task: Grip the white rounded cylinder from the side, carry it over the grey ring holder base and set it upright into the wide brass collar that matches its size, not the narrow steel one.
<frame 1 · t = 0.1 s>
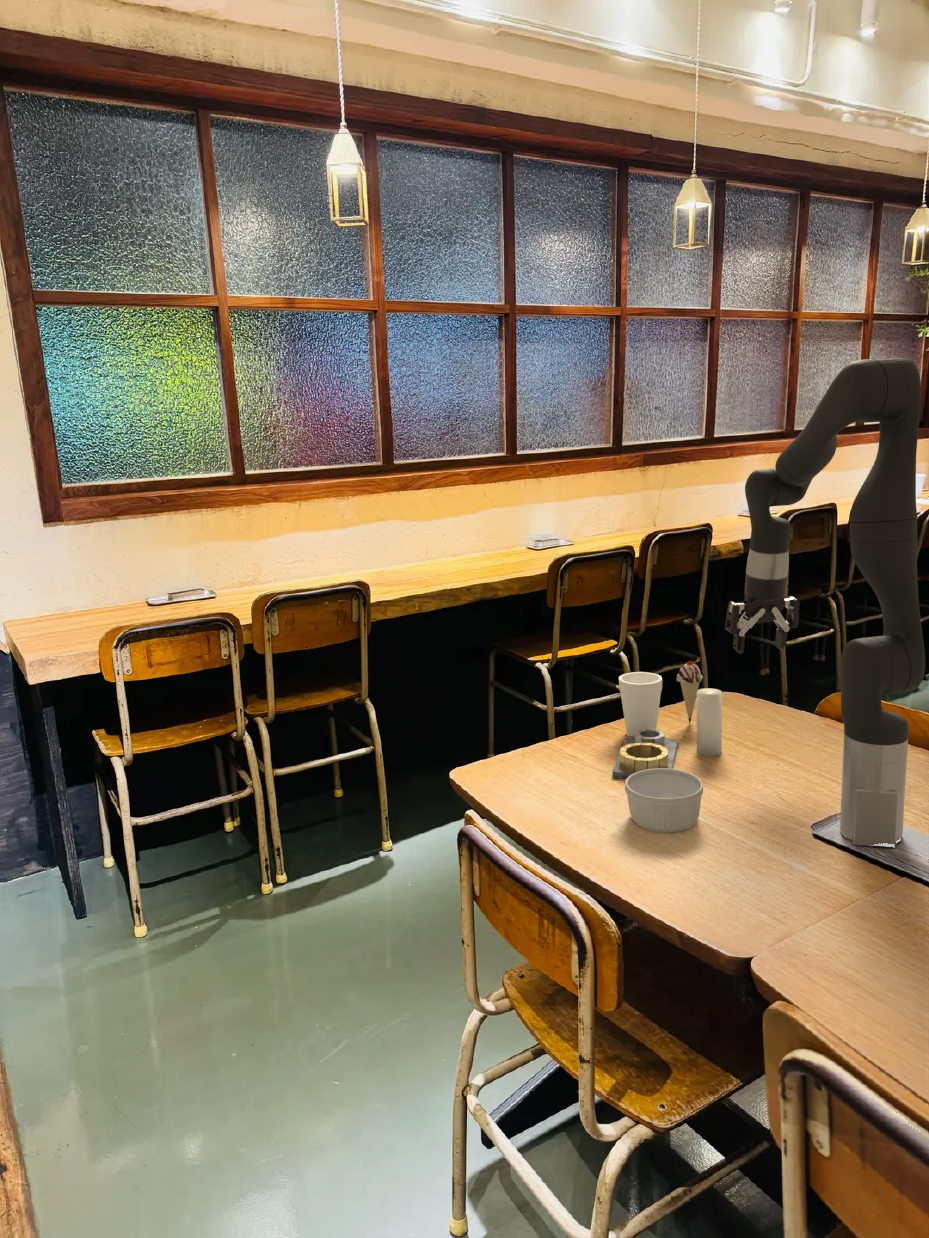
hand: (759, 649, 168), 22 cm above the table, tool pointing down, fingers open, 8 cm apart
white rounded cylinder: (709, 751, 176), on the table
grey ring holder base: (646, 760, 174), on the table
ice cream cone: (689, 724, 192), on the table
ramekin: (663, 820, 148), on the table
foam cup: (641, 734, 188), on the table
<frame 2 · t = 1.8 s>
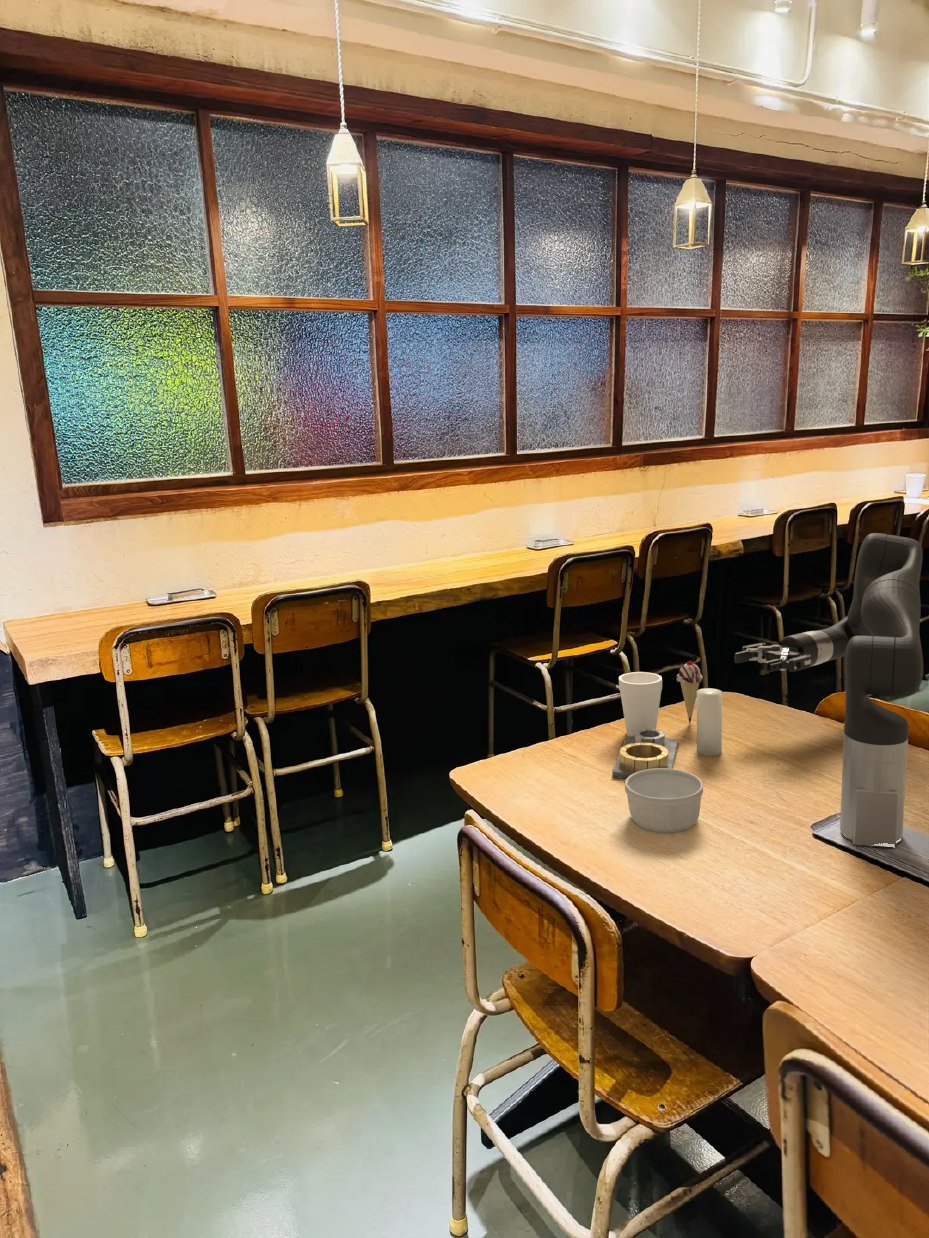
hand: (750, 662, 177), 17 cm above the table, tool horizontal, fingers open, 8 cm apart
nothing on the table moved.
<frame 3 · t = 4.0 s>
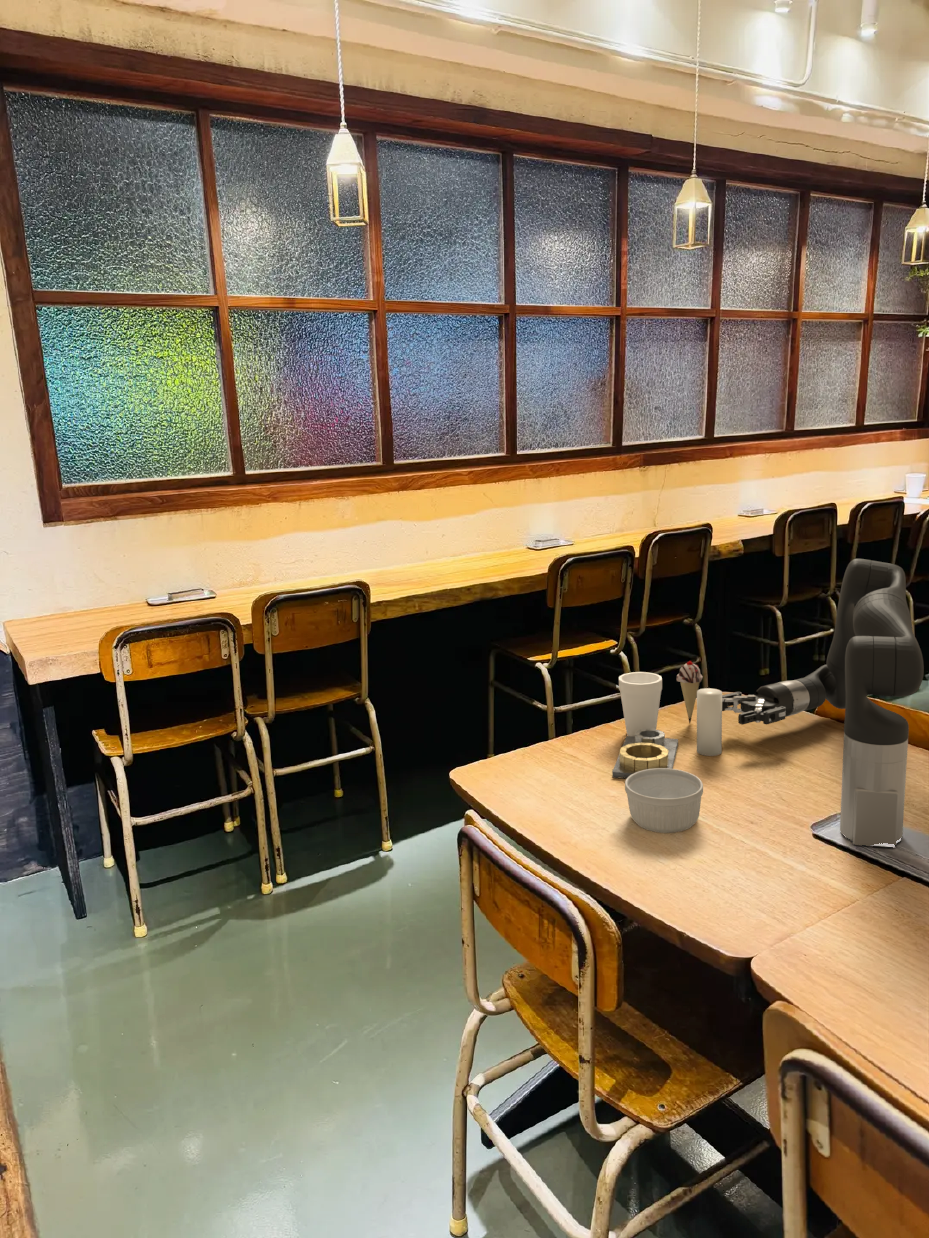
hand: (724, 713, 176), 7 cm above the table, tool horizontal, fingers open, 8 cm apart
nothing on the table moved.
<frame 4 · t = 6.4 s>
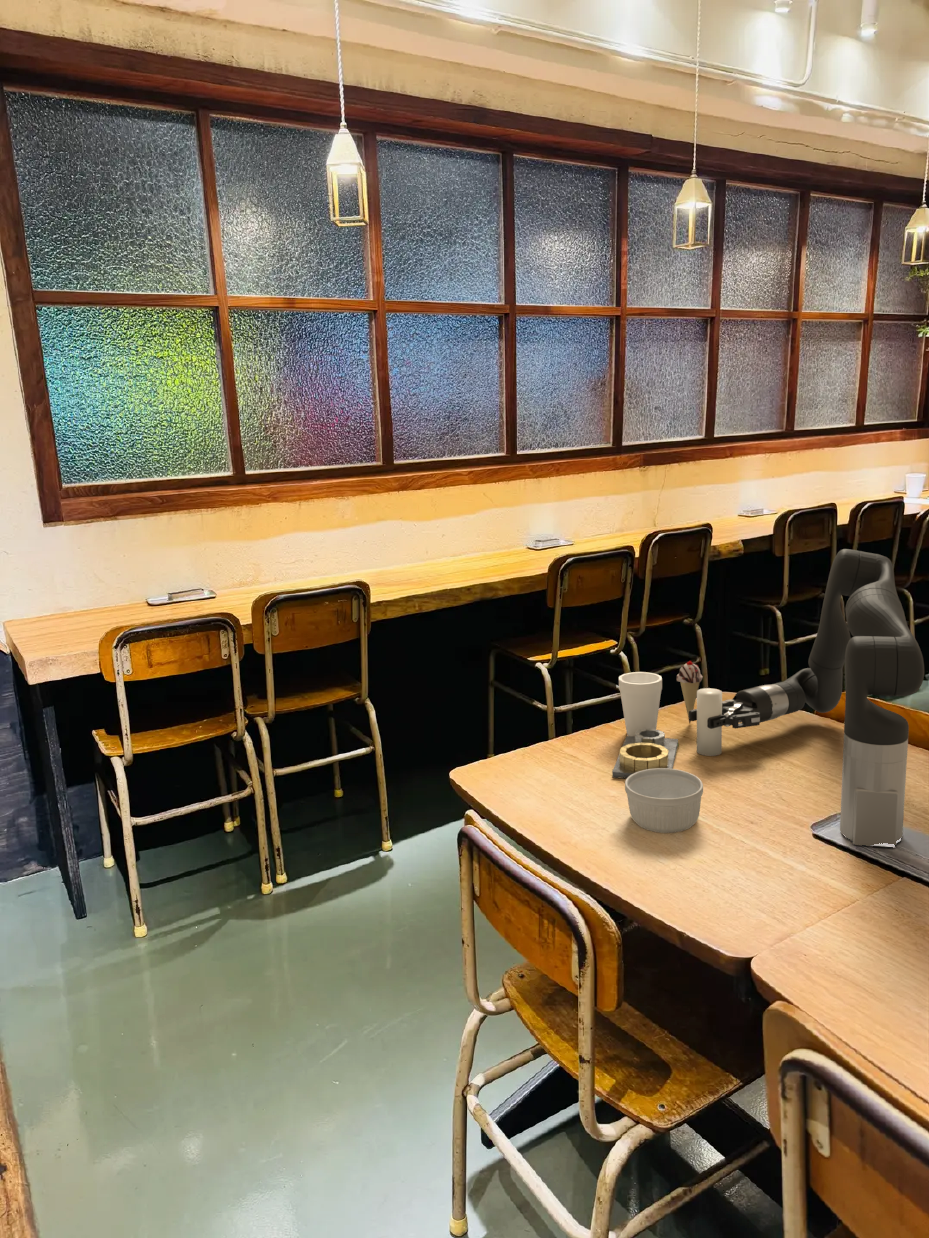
hand: (699, 719, 173), 8 cm above the table, tool horizontal, fingers closed on white rounded cylinder, 5 cm apart
white rounded cylinder: (709, 751, 176), on the table, touching gripper
everything else where it was.
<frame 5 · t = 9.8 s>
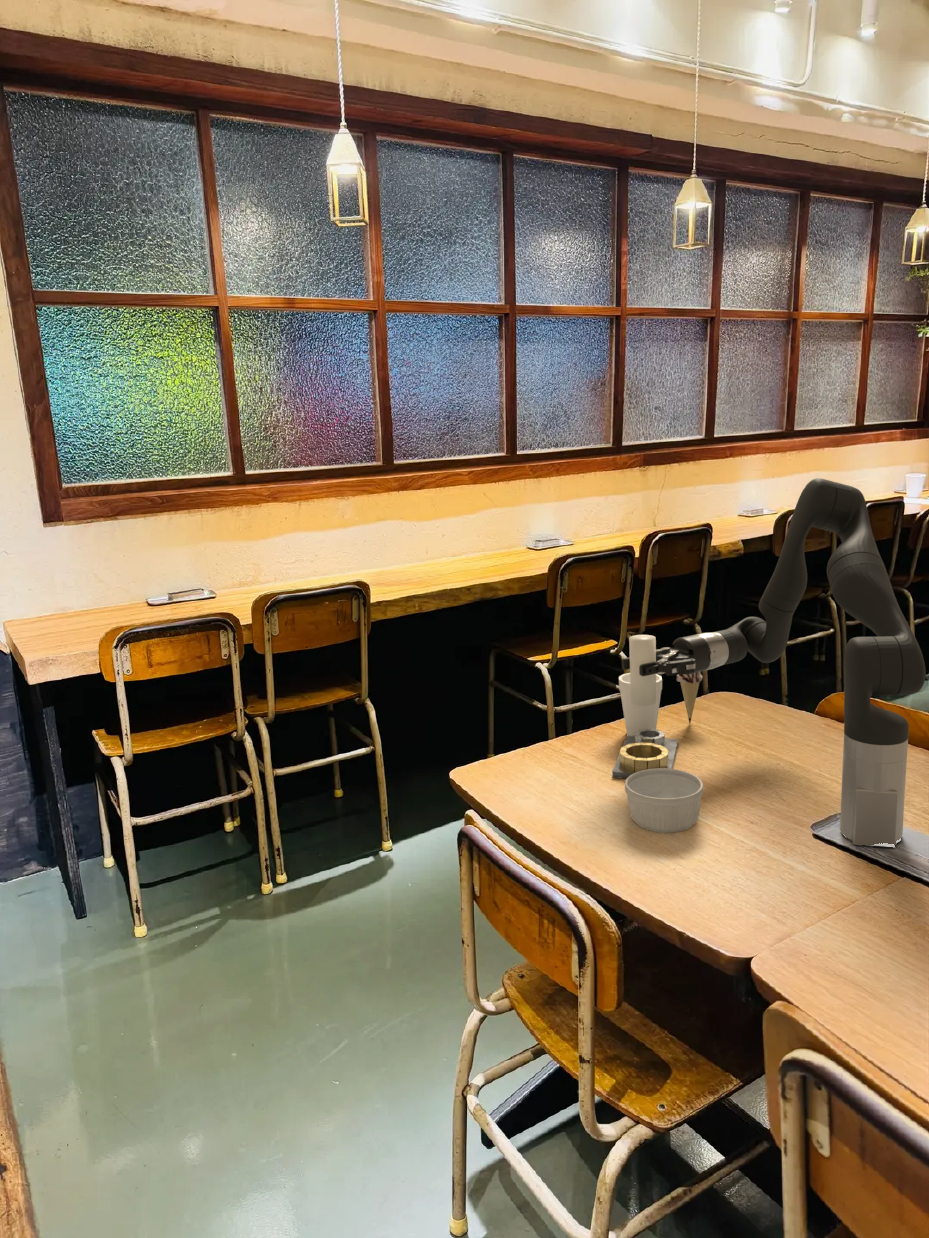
hand: (632, 667, 164), 22 cm above the table, tool horizontal, fingers closed on white rounded cylinder, 5 cm apart
white rounded cylinder: (643, 701, 166), point 14 cm above the table, touching gripper
everything else where it was.
when the fingers open (9 cm above the table, at t = 13.4 s): white rounded cylinder stays where it is, resting on grey ring holder base.
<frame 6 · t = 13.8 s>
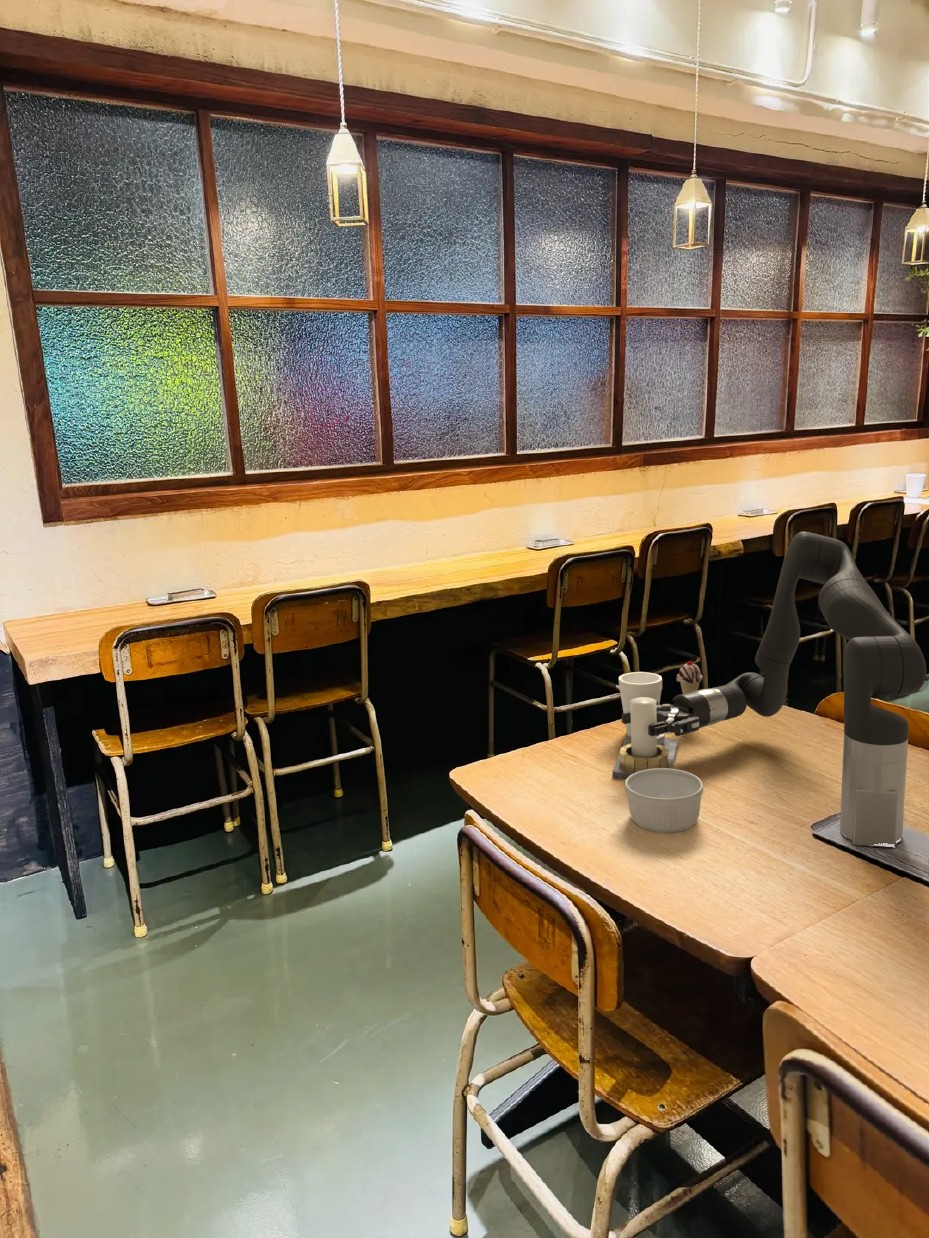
hand: (635, 724, 166), 10 cm above the table, tool horizontal, fingers open, 8 cm apart
white rounded cylinder: (644, 762, 169), point 1 cm above the table, touching grey ring holder base
everything else where it was.
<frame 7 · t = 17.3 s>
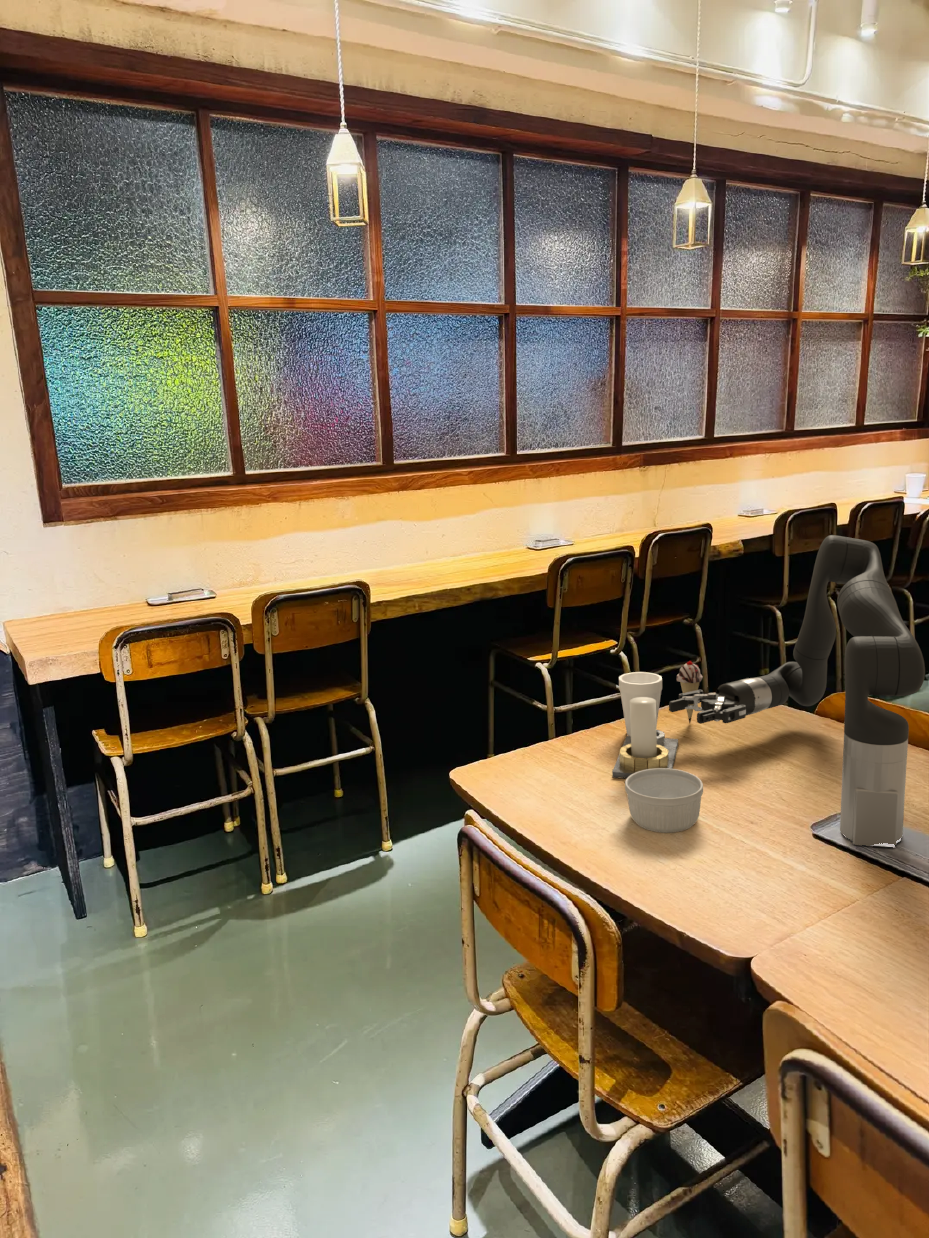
hand: (683, 712, 172), 10 cm above the table, tool horizontal, fingers open, 8 cm apart
nothing on the table moved.
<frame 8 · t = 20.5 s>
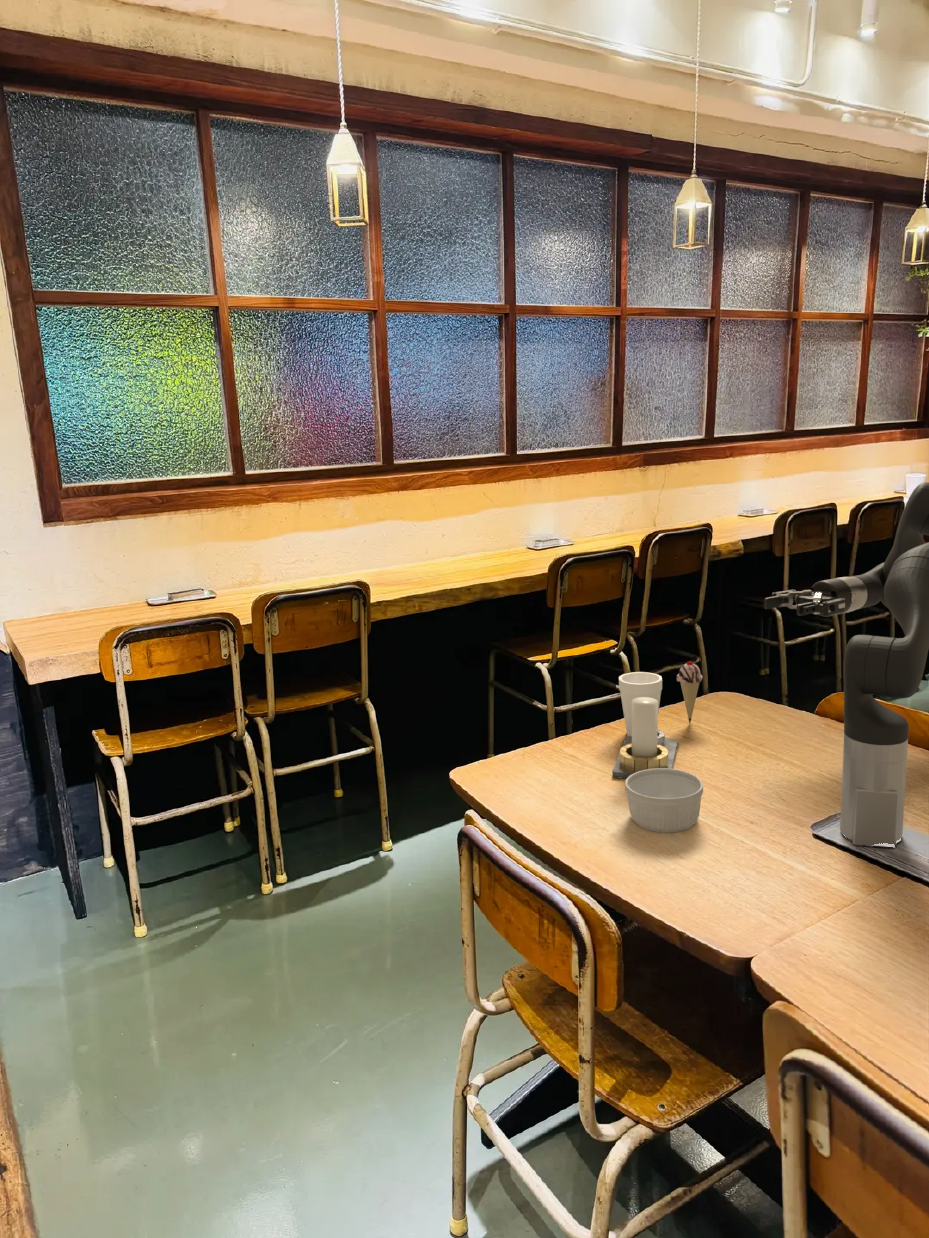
hand: (781, 607, 169), 30 cm above the table, tool horizontal, fingers open, 8 cm apart
nothing on the table moved.
at the end: white rounded cylinder 0.1 cm from the target spot on the grey ring holder base, point 1.3 cm above the grey ring holder base's base; white rounded cylinder tilted 1°; the gripper is holding nothing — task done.
